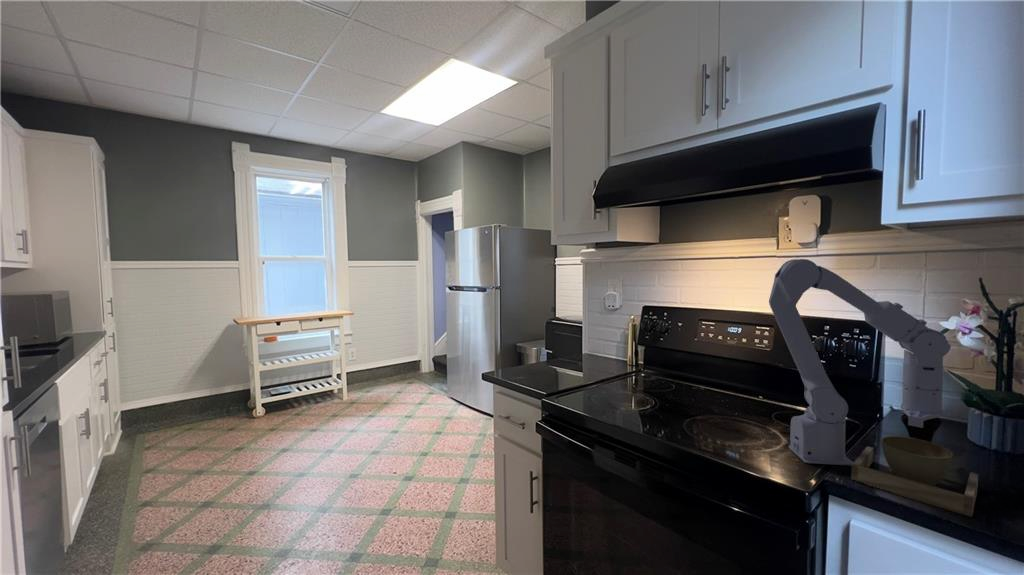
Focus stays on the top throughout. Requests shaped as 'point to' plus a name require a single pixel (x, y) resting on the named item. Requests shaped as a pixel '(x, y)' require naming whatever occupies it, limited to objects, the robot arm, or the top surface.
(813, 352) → the robot arm
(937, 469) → the yellow bowl
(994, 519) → the top surface
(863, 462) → the frame
